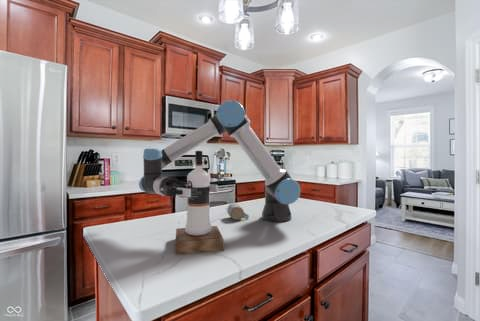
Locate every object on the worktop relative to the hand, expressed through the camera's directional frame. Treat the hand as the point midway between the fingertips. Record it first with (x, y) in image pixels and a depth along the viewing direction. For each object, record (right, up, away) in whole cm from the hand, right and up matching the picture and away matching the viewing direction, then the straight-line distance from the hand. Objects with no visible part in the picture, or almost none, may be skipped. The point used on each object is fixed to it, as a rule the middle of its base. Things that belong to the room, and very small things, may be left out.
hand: (204, 190), depth 87 cm
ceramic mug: (+12, -19, +39) cm, 45 cm away
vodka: (-3, -16, +2) cm, 16 cm away
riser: (-3, -20, +2) cm, 20 cm away
